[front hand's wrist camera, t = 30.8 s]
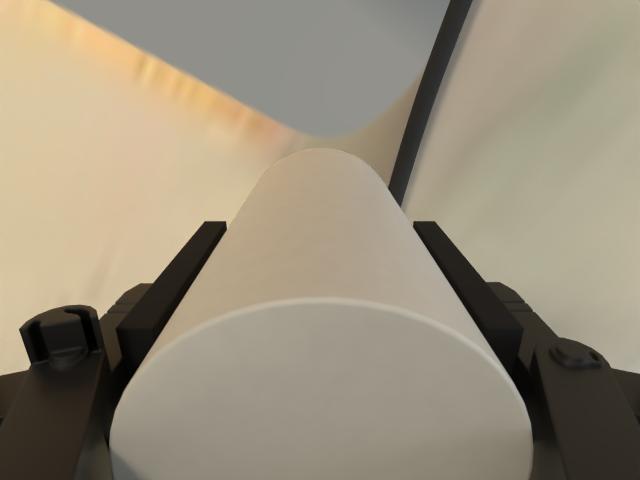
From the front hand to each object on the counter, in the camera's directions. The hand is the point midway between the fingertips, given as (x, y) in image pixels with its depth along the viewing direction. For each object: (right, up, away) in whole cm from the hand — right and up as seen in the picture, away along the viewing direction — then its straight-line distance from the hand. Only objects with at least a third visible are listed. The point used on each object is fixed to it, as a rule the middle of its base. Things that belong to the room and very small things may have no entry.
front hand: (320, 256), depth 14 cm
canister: (0, +2, +4) cm, 4 cm away
